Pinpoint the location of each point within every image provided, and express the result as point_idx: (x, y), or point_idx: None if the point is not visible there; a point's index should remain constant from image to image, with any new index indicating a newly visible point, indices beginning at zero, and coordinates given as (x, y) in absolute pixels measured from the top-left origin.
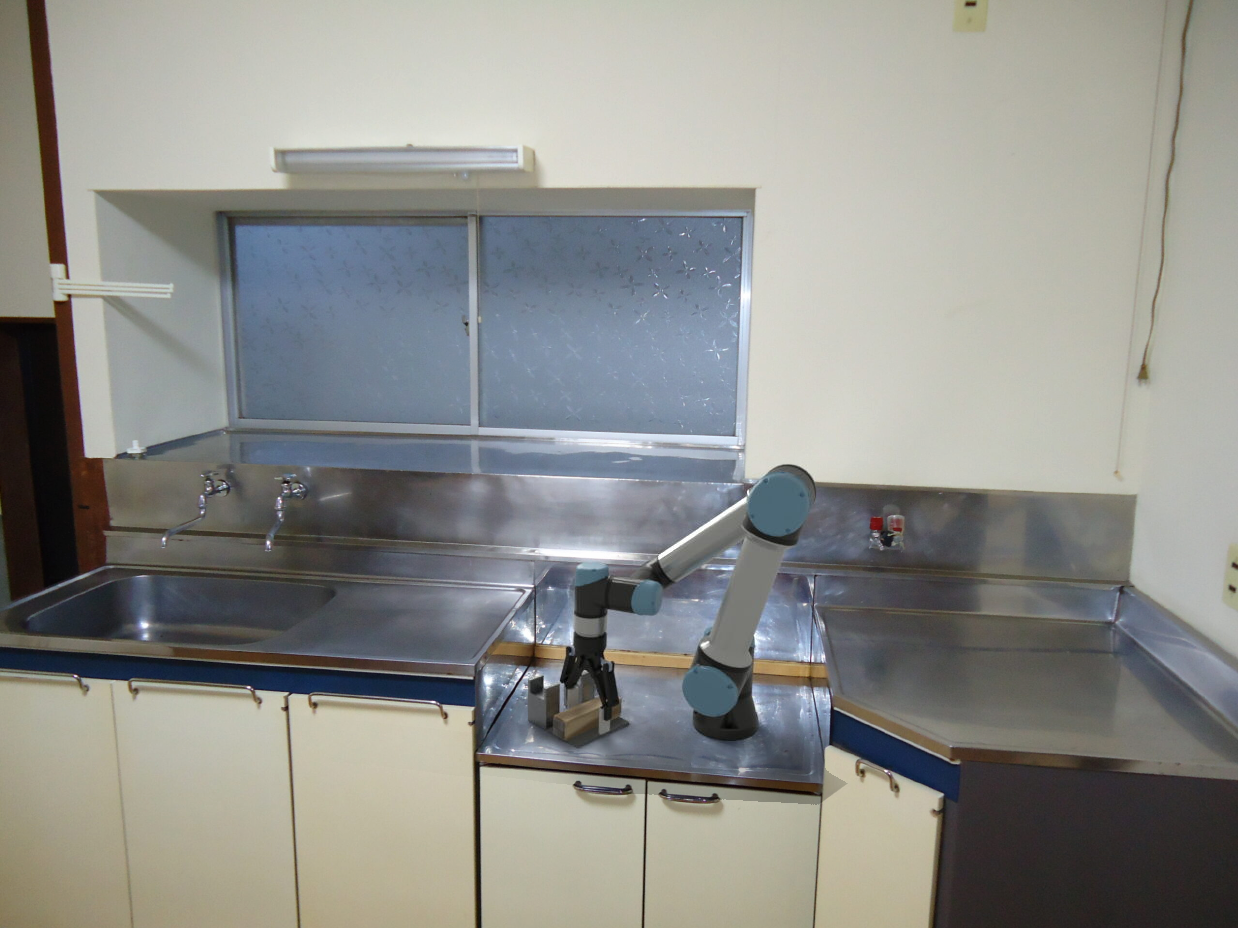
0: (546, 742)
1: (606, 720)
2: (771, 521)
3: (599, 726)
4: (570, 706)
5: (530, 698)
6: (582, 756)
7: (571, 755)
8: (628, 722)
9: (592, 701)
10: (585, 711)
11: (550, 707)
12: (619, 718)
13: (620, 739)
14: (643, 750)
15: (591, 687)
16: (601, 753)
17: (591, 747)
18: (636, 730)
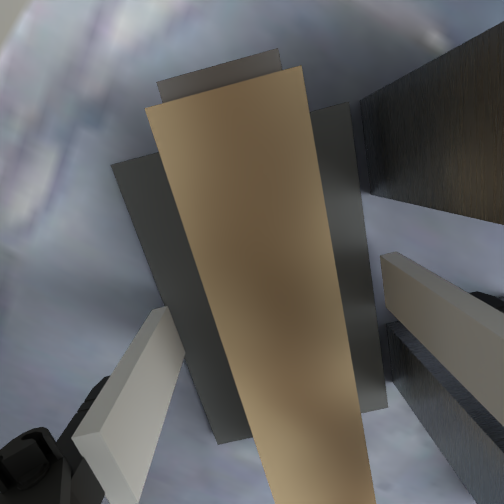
0: (239, 34)
1: (104, 379)
2: None
3: (153, 327)
4: (411, 284)
5: None
6: (29, 148)
7: (56, 99)
8: (216, 439)
9: (336, 410)
10: (236, 320)
11: (443, 110)
12: None
13: None
14: (8, 394)
15: (474, 479)
16: (31, 243)
17: (99, 228)
18: (163, 435)
